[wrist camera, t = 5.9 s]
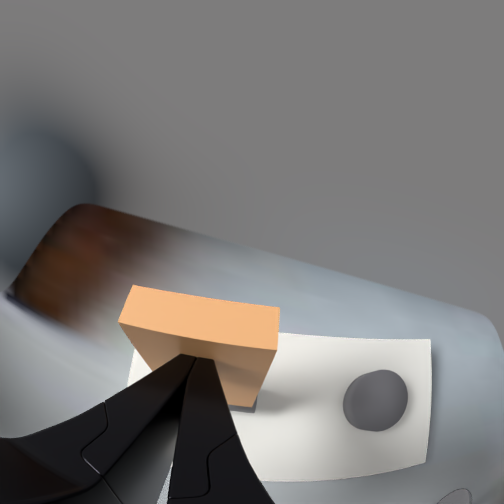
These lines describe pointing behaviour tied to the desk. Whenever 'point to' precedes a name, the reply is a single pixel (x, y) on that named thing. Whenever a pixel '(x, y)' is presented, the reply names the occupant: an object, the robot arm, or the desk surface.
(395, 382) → the push button
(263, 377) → the paddle lever
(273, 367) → the switch panel
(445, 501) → the wine glass
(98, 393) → the desk surface
